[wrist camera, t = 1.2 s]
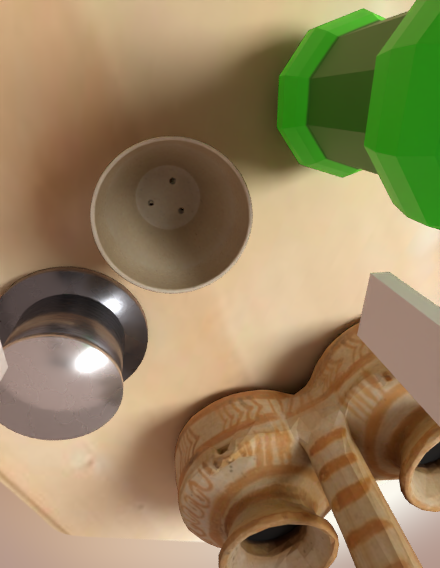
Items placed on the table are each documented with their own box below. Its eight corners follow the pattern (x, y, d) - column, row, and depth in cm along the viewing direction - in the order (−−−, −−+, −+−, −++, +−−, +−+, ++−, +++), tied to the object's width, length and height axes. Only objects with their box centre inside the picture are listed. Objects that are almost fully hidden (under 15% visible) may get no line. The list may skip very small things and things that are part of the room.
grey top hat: (-26, 271, 29) (-79, 322, 22) (142, 262, 31) (140, 306, 24) (12, 396, 35) (-20, 467, 28) (152, 382, 37) (153, 444, 30)
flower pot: (186, 275, 32) (196, 317, 26) (79, 214, 28) (59, 246, 22) (255, 179, 30) (284, 200, 23) (146, 97, 26) (146, 96, 20)
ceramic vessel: (423, 265, 37) (839, 511, 15) (458, 379, 45) (755, 643, 23) (138, 429, 40) (127, 840, 18) (222, 507, 48) (285, 849, 26)
